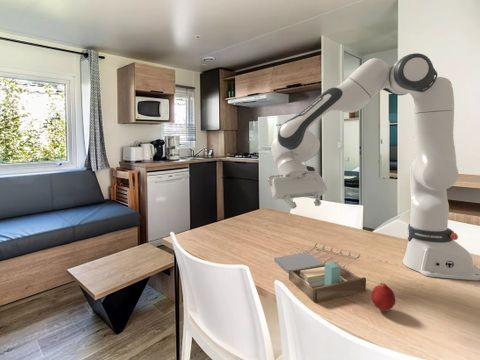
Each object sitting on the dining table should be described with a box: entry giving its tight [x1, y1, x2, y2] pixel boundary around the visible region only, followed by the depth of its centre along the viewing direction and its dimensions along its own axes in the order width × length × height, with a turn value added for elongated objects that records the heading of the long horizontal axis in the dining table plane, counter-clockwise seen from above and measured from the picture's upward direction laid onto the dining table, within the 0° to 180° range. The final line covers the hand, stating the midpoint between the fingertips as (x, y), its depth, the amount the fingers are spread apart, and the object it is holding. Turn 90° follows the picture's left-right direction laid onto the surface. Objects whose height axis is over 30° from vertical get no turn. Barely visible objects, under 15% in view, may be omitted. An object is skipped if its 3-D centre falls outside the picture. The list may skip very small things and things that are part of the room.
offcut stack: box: [299, 267, 344, 288], centre depth 98 cm, size 6×13×3 cm, turn 109°
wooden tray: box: [288, 261, 367, 303], centre depth 95 cm, size 15×18×4 cm
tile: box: [273, 251, 324, 275], centre depth 109 cm, size 14×14×1 cm
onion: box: [370, 282, 397, 312], centre depth 80 cm, size 6×6×8 cm
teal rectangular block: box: [323, 261, 341, 286], centre depth 91 cm, size 4×3×8 cm
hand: (306, 206), depth 102 cm, fingers open, 8 cm apart
